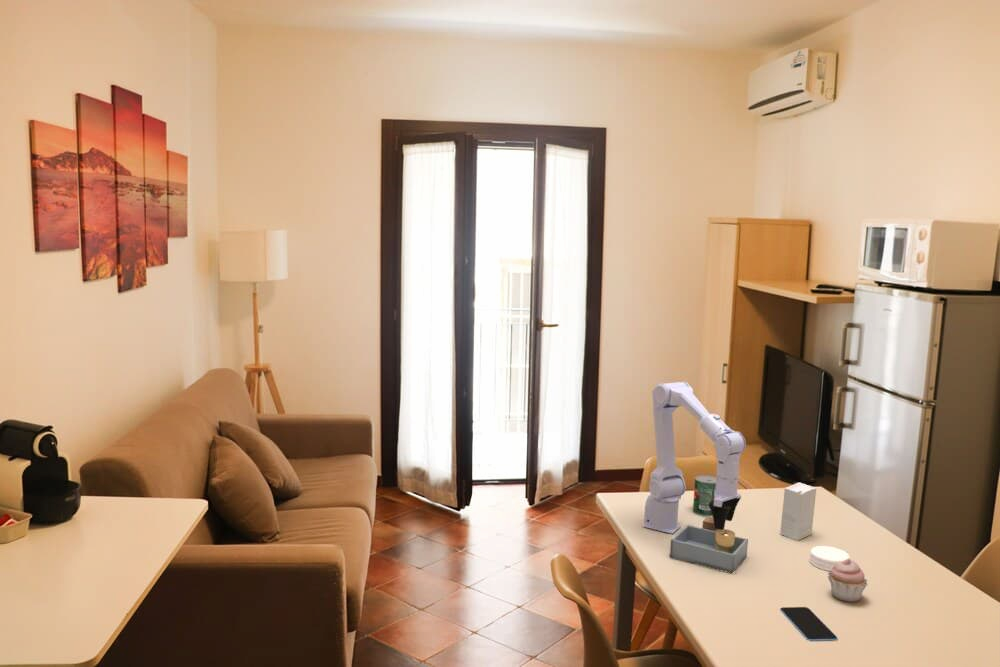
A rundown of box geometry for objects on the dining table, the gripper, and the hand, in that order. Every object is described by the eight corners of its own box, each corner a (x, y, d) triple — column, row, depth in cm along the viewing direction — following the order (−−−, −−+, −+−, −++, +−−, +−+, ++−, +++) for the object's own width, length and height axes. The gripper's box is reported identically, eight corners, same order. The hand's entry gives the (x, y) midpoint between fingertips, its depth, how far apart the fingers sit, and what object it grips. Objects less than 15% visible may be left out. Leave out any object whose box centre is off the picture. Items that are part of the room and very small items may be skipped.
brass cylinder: (711, 558, 216) (713, 533, 215) (717, 551, 220) (719, 527, 219) (730, 562, 213) (732, 537, 212) (735, 556, 217) (737, 531, 216)
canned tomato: (689, 507, 256) (691, 474, 255) (712, 507, 257) (715, 474, 256) (697, 517, 248) (700, 483, 247) (722, 516, 249) (724, 482, 248)
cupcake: (817, 591, 201) (820, 553, 199) (845, 585, 204) (849, 548, 203) (845, 608, 192) (849, 568, 191) (874, 602, 195) (879, 563, 194)
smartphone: (807, 606, 192) (839, 638, 177) (807, 609, 192) (839, 642, 177) (778, 606, 191) (807, 639, 176) (777, 610, 191) (807, 642, 176)
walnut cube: (701, 537, 233) (702, 521, 232) (707, 532, 237) (708, 515, 236) (718, 541, 230) (719, 524, 229) (723, 535, 234) (725, 519, 234)
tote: (669, 557, 218) (671, 539, 217) (686, 541, 229) (687, 524, 228) (732, 573, 209) (734, 555, 208) (746, 556, 220) (747, 539, 219)
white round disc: (854, 565, 217) (855, 553, 217) (840, 576, 210) (842, 563, 209) (817, 554, 224) (819, 542, 223) (803, 564, 217) (804, 552, 216)
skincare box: (794, 528, 241) (798, 481, 239) (813, 535, 237) (817, 487, 235) (779, 535, 236) (783, 486, 234) (797, 541, 232) (802, 492, 229)
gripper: (734, 486, 208) (730, 536, 210) (749, 472, 220) (745, 519, 222) (707, 481, 212) (703, 529, 214) (724, 467, 224) (720, 513, 226)
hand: (723, 524), depth 218 cm, fingers open, 7 cm apart
